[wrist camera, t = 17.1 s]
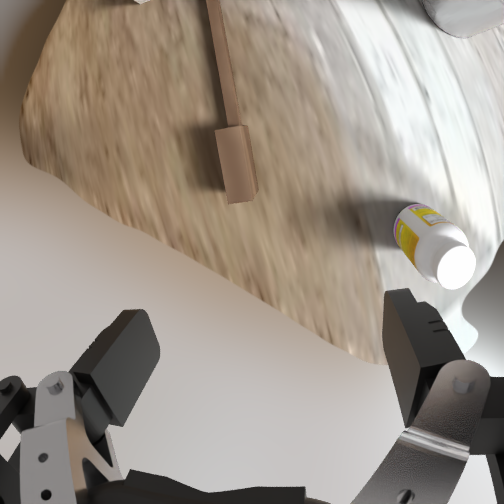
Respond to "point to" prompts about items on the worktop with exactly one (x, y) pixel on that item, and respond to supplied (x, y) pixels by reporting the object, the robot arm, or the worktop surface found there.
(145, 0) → the white shelf
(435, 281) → the supplement bottle
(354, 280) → the worktop surface
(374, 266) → the worktop surface
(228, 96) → the walnut push stick
